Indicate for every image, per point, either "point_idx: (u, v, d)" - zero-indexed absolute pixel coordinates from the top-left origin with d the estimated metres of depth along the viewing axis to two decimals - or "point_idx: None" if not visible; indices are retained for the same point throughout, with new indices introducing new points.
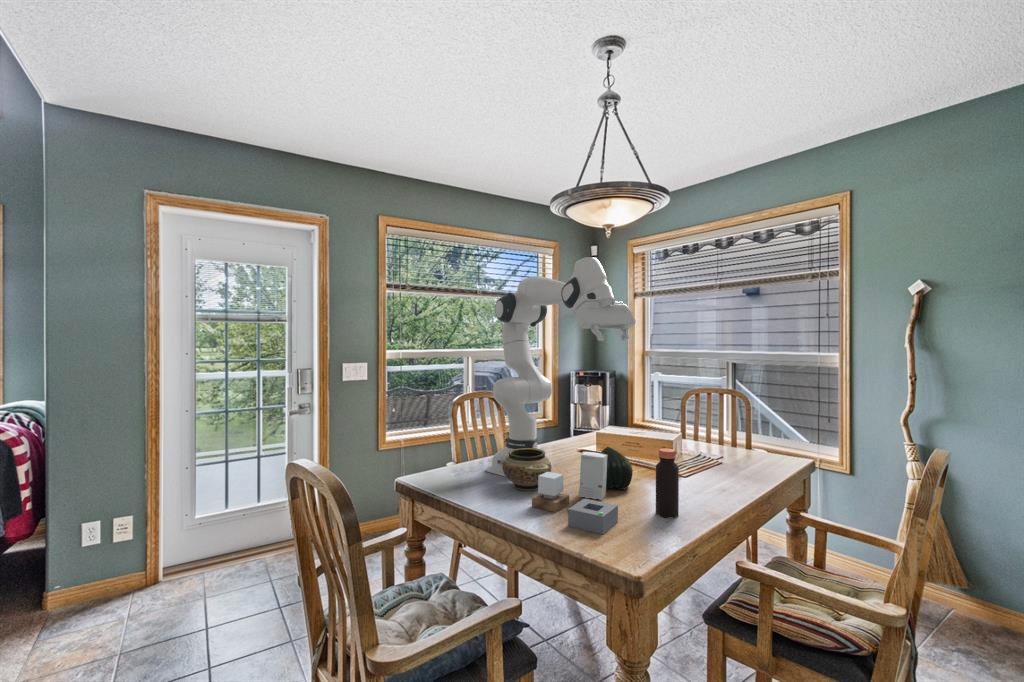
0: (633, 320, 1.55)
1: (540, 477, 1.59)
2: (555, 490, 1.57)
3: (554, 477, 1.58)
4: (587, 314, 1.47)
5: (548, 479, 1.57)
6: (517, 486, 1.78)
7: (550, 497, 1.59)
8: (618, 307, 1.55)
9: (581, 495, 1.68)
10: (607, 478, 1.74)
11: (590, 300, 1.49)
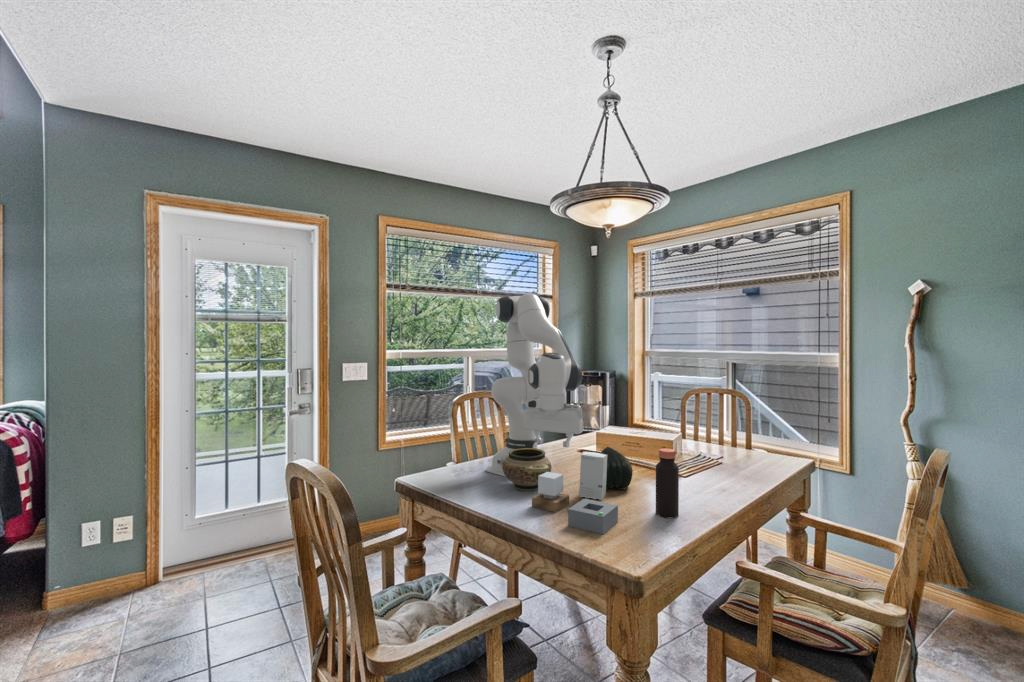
0: (575, 430, 1.54)
1: (540, 477, 1.59)
2: (555, 490, 1.57)
3: (554, 477, 1.58)
4: (527, 420, 1.62)
5: (548, 479, 1.57)
6: (517, 486, 1.78)
7: (550, 497, 1.59)
8: (564, 414, 1.56)
9: (581, 495, 1.68)
10: (607, 478, 1.74)
11: (531, 408, 1.61)
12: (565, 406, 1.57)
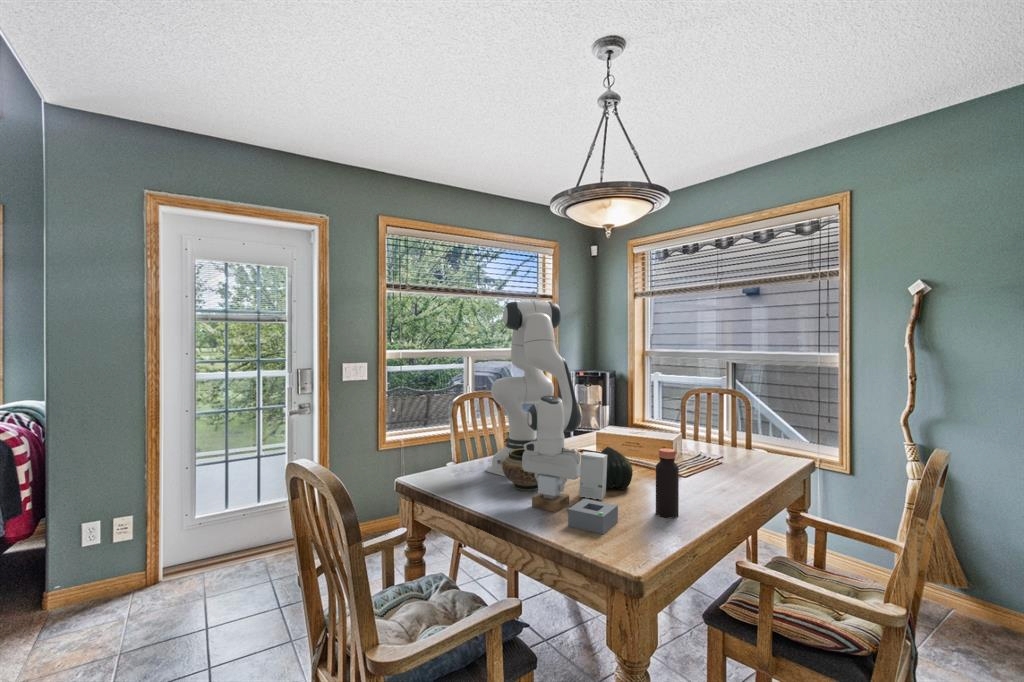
0: (573, 476, 1.54)
1: (540, 477, 1.59)
2: (555, 490, 1.57)
3: (554, 477, 1.58)
4: (525, 462, 1.63)
5: (548, 479, 1.57)
6: (517, 486, 1.78)
7: (550, 497, 1.59)
8: (561, 459, 1.56)
9: (581, 495, 1.68)
10: (607, 478, 1.74)
11: (529, 451, 1.61)
12: (563, 450, 1.57)
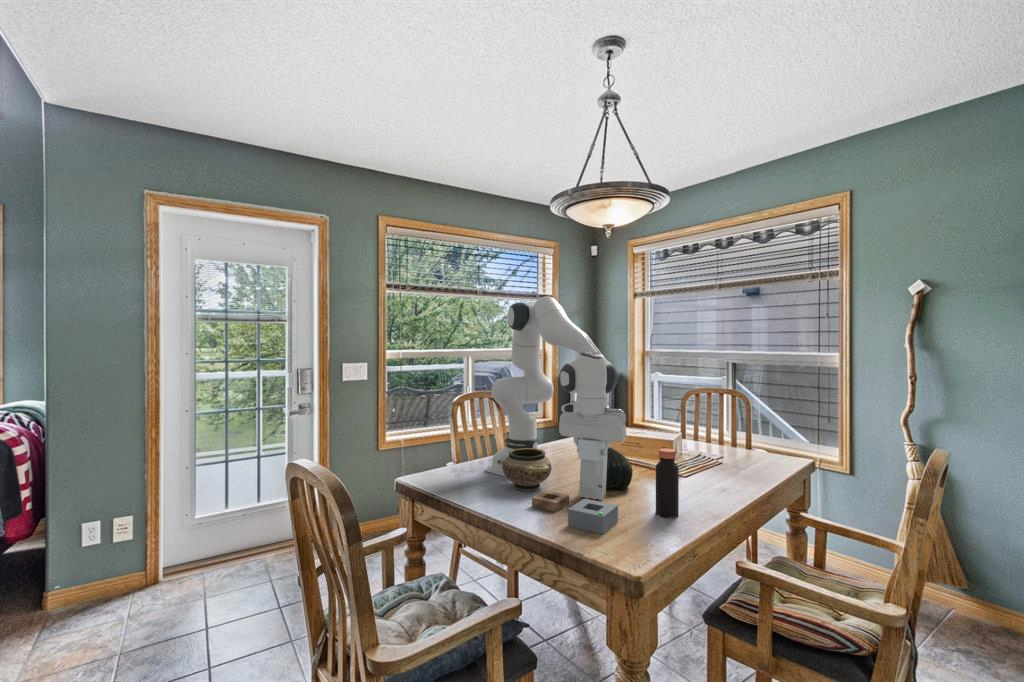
0: (618, 437, 1.38)
1: (580, 441, 1.43)
2: (598, 455, 1.41)
3: (596, 440, 1.42)
4: (563, 426, 1.48)
5: (590, 442, 1.42)
6: (517, 486, 1.78)
7: (591, 463, 1.43)
8: (605, 419, 1.41)
9: (581, 495, 1.68)
10: (607, 478, 1.74)
11: (567, 412, 1.46)
12: (606, 411, 1.42)
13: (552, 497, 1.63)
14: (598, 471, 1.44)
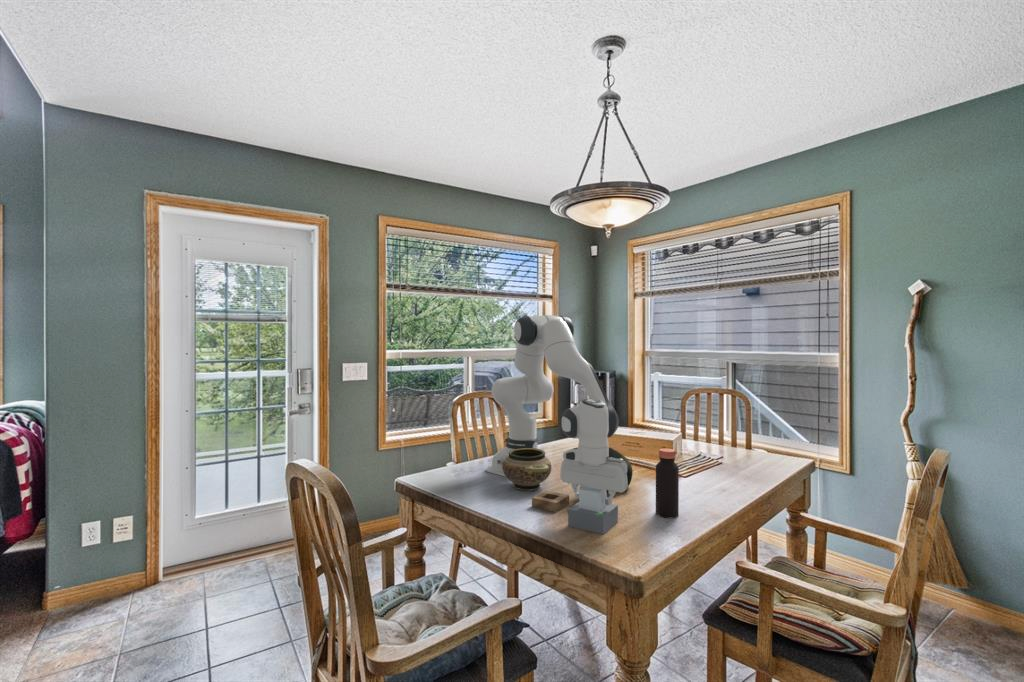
0: (620, 488, 1.38)
1: (581, 491, 1.43)
2: (599, 506, 1.41)
3: (597, 491, 1.42)
4: (564, 472, 1.48)
5: (591, 493, 1.42)
6: (517, 486, 1.78)
7: None
8: (606, 469, 1.40)
9: None
10: None
11: (569, 460, 1.46)
12: (607, 460, 1.42)
13: (552, 497, 1.63)
14: None
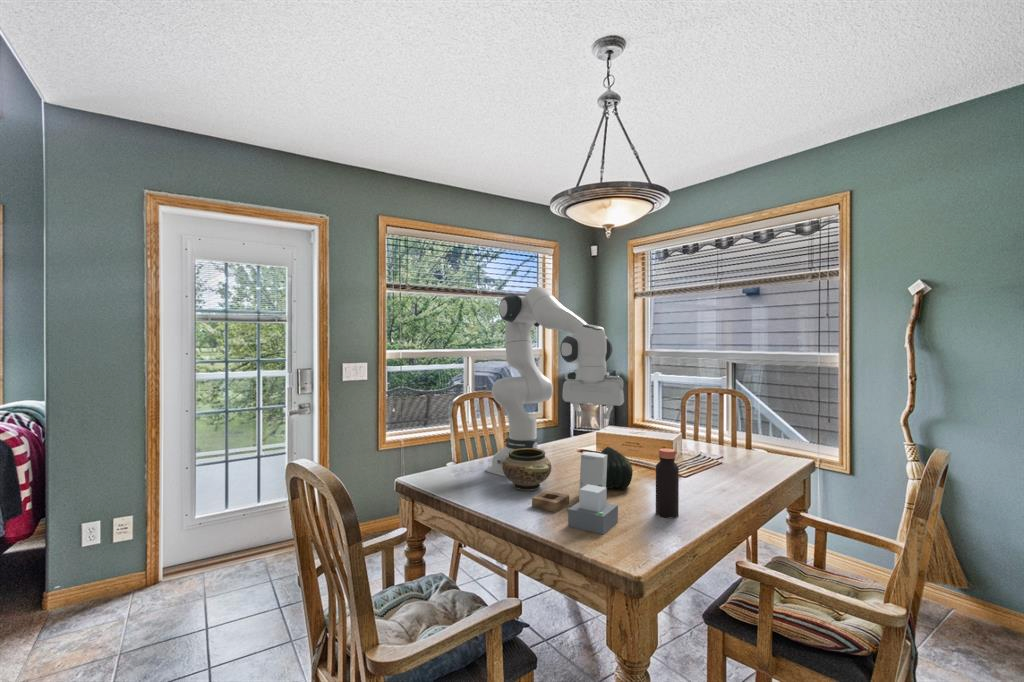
0: (616, 401, 1.52)
1: (581, 491, 1.43)
2: (599, 506, 1.41)
3: (597, 491, 1.42)
4: (566, 392, 1.62)
5: (591, 493, 1.42)
6: (517, 486, 1.78)
7: None
8: (604, 385, 1.54)
9: None
10: (607, 478, 1.74)
11: (570, 380, 1.60)
12: (605, 378, 1.56)
13: (552, 497, 1.63)
14: None
